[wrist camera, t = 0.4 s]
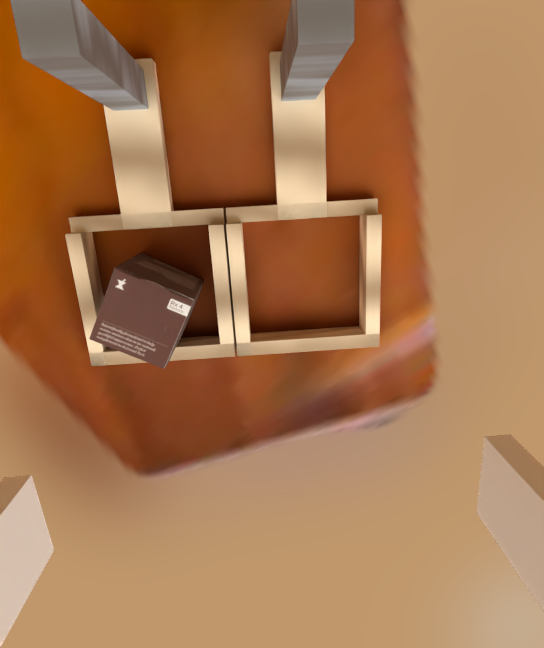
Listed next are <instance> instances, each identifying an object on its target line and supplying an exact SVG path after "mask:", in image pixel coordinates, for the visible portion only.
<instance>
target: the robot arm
mask: <svg viewBox="0 0 544 648" xmlns="http://www.w3.org/2000/svg"><path fill="white" fill-rule="evenodd" d="M477 514H478V516H479V517H480V519H481V520H482V521H483V523H484V524H485V526H486V527H487V529H488V530H489V532H490V533H491V535H492V536H493V538H494V539H495V541H496V542H497V543H498V545H499V547H500V548H501V549H502V551H503V552H504V554H505V555H506V557H507V558H508V560H509V561H510V563H511V564H512V566H513V567H514V569H515V570H516V572H517V573H518V575H519V576H520V577H521V579H522V580H523V582H524V583H525V585H526V586H527V588H528V589H529V591H530V592H531V594H532V595H533V597H534V598H535V600H536V601H537V602H538V604H539V606H540V607H541V609H542V610H543V611H544V467H543V466H542V465H541V464H540V463H539V462H538V461H537V460H536V459H535V458H534V457H533V456H532V455H531V454H530V453H529V452H528V451H527V450H526V449H524V447H523V446H522V445H521V444H520V443H519V442H518V441H517V440H516V439H515V438H513V436H512V435H498V436H486V437H484V446H483V456H482V466H481V475H480V485H479V495H478V504H477ZM53 551H54V548H53V545H52V541H51V538H50V535H49V532H48V528H47V525H46V522H45V519H44V515H43V512H42V509H41V505H40V502H39V499H38V495H37V492H36V489H35V485H34V482H33V479H32V476H31V475H27V476H15V477H4V479H3V480H2V481H1V482H0V647H1V645H2V643H3V642H4V640H5V638H6V636H7V634H8V633H9V631H10V629H11V627H12V625H13V623H14V622H15V620H16V618H17V616H18V614H19V612H20V611H21V609H22V607H23V605H24V603H25V602H26V600H27V598H28V596H29V594H30V593H31V590H32V589H33V587H34V585H35V583H36V582H37V580H38V578H39V576H40V574H41V573H42V571H43V569H44V567H45V565H46V563H47V562H48V560H49V558H50V556H51V554H52V552H53Z"/></svg>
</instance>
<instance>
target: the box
mask: <svg viewBox="0 0 544 648" xmlns="http://www.w3.org/2000/svg"><path fill="white" fill-rule="evenodd" d="M203 283H204V280H202V279H200V278H198V277H196V276H193V275H191V274H189V273H187V272H185V271H182V270H180V269H178V268H175V267H173V266H171V265H168V264H166V263H164V262H161V261H159V260H157V259H155V258H152V257H150V256H148V255H146V254H143V253H140V254H138V255H136V256H135V257H133V258H131V259H129V260H127V261H126V262H124V263H122V264H120V265H118V266H116V267H115V268H114V270H113V273H112V276H111V279H110V282H109V284H108V288H107V291H106V293H105V296H104V299H103V301H102V304H101V307H100V310H99V313H98V316H97V318H96V321H95V324H94V327H93V329H92V332H91V335H90V338H89V339H90V340H93V341H95V342H98V343H100V344H102V345H105V346H107V347H110V348H112V349H115V350H118V351H120V352H123V353H125V354H128V355H130V356H133V357H135V358H138V359H140V360H143V361H145V362H148V363H150V364H153V365H156V366H158V367H161V368H165V367H166V365H167V364H168V362H169V360H170V358H171V356H172V354H173V352H174V350H175V348H176V346H177V344H178V342H179V340H180V338H181V336H182V334H183V332H184V329H185V327H186V325H187V323H188V320H189V318H190V315H191V313H192V311H193V308H194V306H195V303H196V301H197V299H198V296H199V293H200V291H201V288H202V286H203Z"/></svg>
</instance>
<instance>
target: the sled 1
mask: <svg viewBox="0 0 544 648" xmlns="http://www.w3.org/2000/svg"><path fill="white" fill-rule="evenodd" d="M11 5H12V10H13V15H14V20H15V25H16V29H17V34H18V39H19V44H20V49H21V53H22V58H23V59H25V60H27V61H28V62H30V63H32V64H34V65H35V66H37V67H39V68H40V69H42V70H44V71H46V72H47V73H49V74H51V75H53V76H54V77H56V78H58V79H60V80H61V81H63V82H65V83H66V84H68V85H70V86H72V87H73V88H75V89H77V90H79V91H80V92H82V93H84V94H86V95H87V96H89V97H91V98H92V99H94V100H96V101H98V102H99V103H101V104H103V105H104V111H105V118H106V124H107V130H108V136H109V142H110V149H111V155H112V161H113V167H114V174H115V180H116V186H117V192H118V198H119V205H120V211H121V214H113V215H97V216H80V217H70V218H69V223H70V228H71V233H69V234H65V236H66V241H67V246H68V251H69V256H70V261H71V266H72V271H73V276H74V281H75V286H76V291H77V296H78V300H79V305H80V310H81V315H82V320H83V325H84V330H85V335H86V340H87V345H88V350H89V355H90V360H91V365H92V366H101V365H116V364H130V363H145V361H143V360H140V359H138V358H135V357H133V356H130V355H128V354H125V353H123V352H120V351H118V350H115V349H112V348H110V347H107V346H105V345H102V344H100V343H98V342H95V341H93V340H90V339H89V338H90V335H91V332H92V329H93V327H94V324H95V321H96V318H97V316H98V313H99V310H100V307H101V304H102V301H103V299H104V294H103V289H102V283H101V278H100V272H99V267H98V261H97V256H96V251H95V245H94V240H93V234H92V232H94V231H110V230H126V229H143V228H159V227H175V226H191V225H207V224H210V225H208V228H209V238H210V248H211V258H212V268H213V278H214V288H215V298H216V308H217V317H218V327H219V336H204V337H189V338H180V340H179V342H178V344H177V346H176V348H175V350H174V352H173V354H172V356H171V358H170V360H169V361H174V360H189V359H204V358H218V357H233V356H235V355H236V336H235V324H234V313H233V302H232V291H231V279H230V268H229V257H228V245H227V234H226V223H225V212H224V208H211V209H195V210H178V211H174V209H173V201H172V193H171V185H170V177H169V169H168V161H167V153H166V144H165V136H164V128H163V120H162V112H161V104H160V96H159V88H158V80H157V72H156V64H155V62H154V61H153V59H152V58H147V59H133V58H132V56H131V55H130V54H129V53H128V52H127V51H126V50H125V49H124V48H123V47H122V45H121V44H120V43H119V42H118V41H117V40H116V39H115V38H114V37H113V36H112V34H111V33H110V32H109V31H108V30H107V29H106V28H105V27H104V26H103V25H102V23H101V22H100V21H99V20H98V19H97V18H96V17H95V16H94V15H93V14H92V12H91V11H90V10H89V9H88V8H87V7H86V6H85V5H84V4H83V3H82V1H81V0H11Z"/></svg>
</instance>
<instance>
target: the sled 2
mask: <svg viewBox="0 0 544 648" xmlns="http://www.w3.org/2000/svg"><path fill="white" fill-rule="evenodd" d="M353 42H354V0H291V5H290V10H289V15H288V20H287V26H286V31H285V36H284V41H283V47H282V51H277V52H269V67H270V86H271V105H272V124H273V143H274V162H275V181H276V201H277V204H276V205H260V206H244V207H227V208H226V219H227V224H226V231H227V242H228V253H229V264H230V276H231V287H232V298H233V310H234V321H235V332H236V343H237V355H238V356H248V355H262V354H277V353H292V352H306V351H321V350H336V349H350V348H365V347H379V332H380V283H381V235H382V215H381V214H378V199H358V200H342V201H327V196H326V140H325V84H326V83H327V81H328V80H329V78H330V77H331V75H332V74H333V72H334V71H335V69H336V68H337V66H338V65H339V63H340V61H341V60H342V58H343V57H344V55H345V54H346V52H347V51H348V49H349V48H350V46H351V45H352V43H353ZM352 215H360V258H359V326H353V327H338V328H323V329H308V330H293V331H278V332H264V333H251V331H250V318H249V305H248V292H247V279H246V266H245V253H244V240H243V227H242V222H256V221H272V220H288V219H304V218H320V217H336V216H352Z"/></svg>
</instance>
